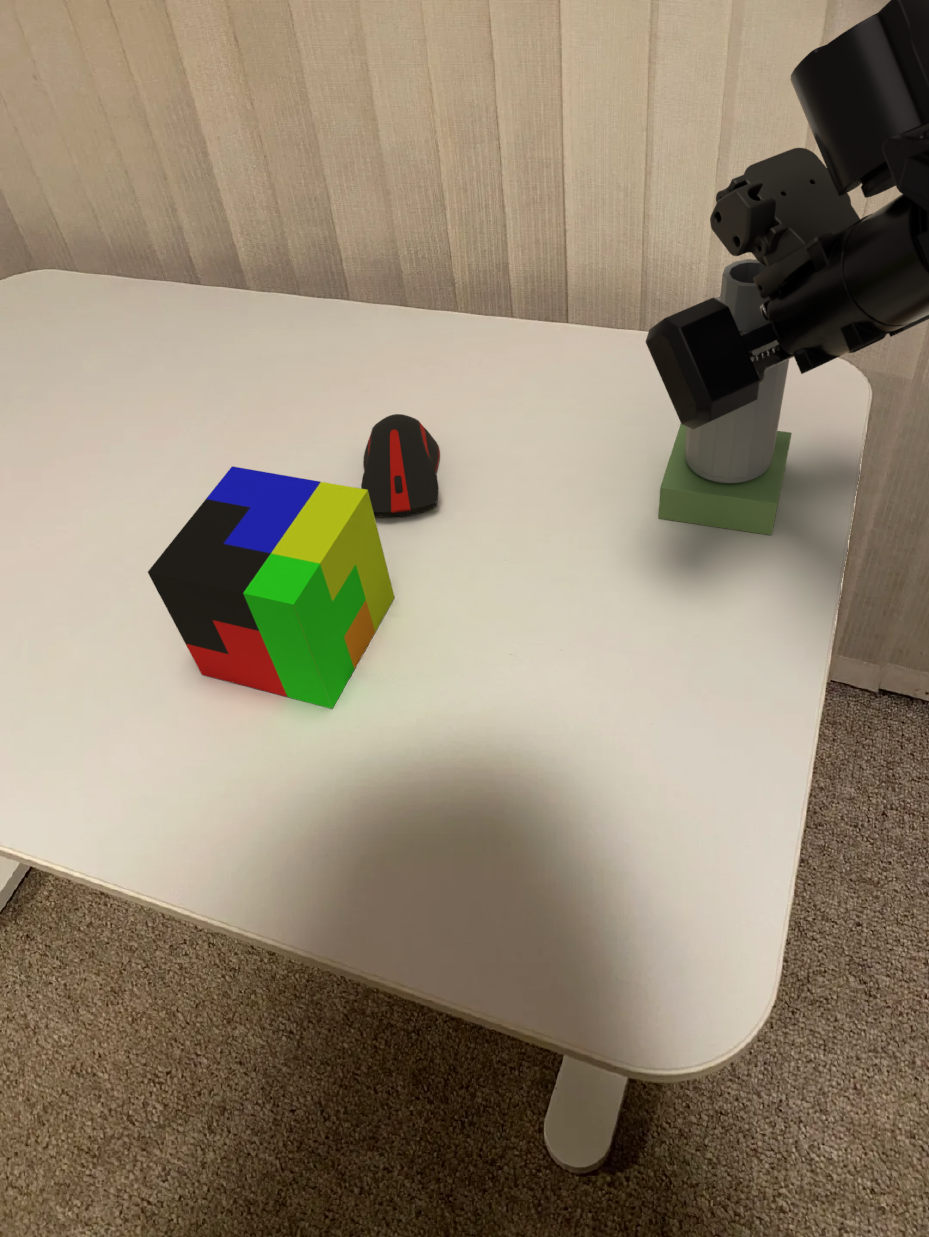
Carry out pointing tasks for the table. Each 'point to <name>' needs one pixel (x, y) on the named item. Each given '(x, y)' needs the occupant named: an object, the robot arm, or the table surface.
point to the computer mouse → (401, 467)
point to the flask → (750, 431)
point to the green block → (722, 493)
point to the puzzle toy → (277, 583)
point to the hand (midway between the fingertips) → (725, 363)
